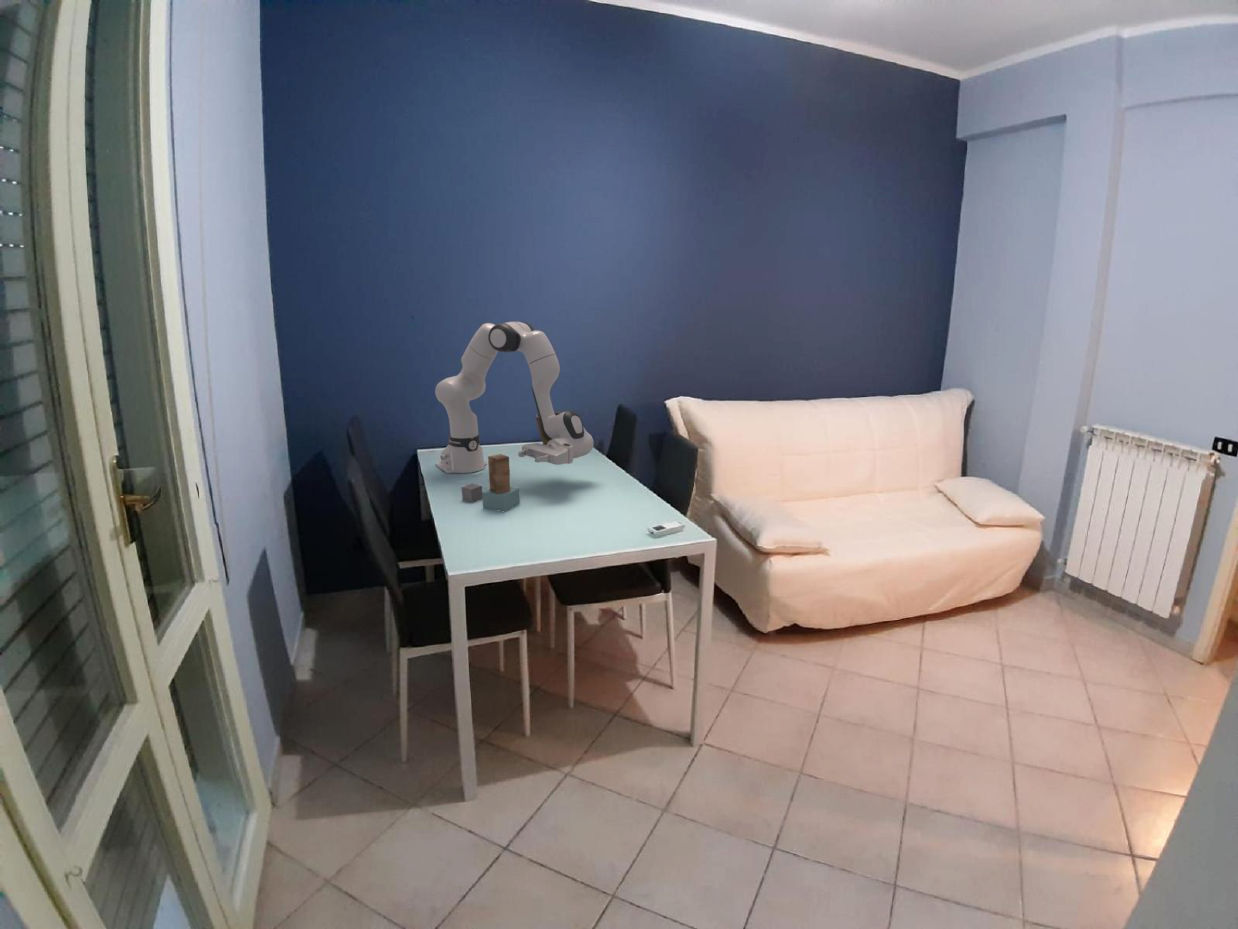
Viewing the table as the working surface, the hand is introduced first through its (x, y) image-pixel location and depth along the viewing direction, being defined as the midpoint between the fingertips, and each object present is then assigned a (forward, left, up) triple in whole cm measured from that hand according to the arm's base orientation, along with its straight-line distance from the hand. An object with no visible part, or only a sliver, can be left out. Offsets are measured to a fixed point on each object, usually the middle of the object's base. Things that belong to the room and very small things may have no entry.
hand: (527, 457), depth 217 cm
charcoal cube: (-12, -16, -15) cm, 25 cm away
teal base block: (+1, -13, -15) cm, 20 cm away
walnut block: (+1, -13, -9) cm, 16 cm away
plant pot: (-47, +51, -15) cm, 71 cm away
